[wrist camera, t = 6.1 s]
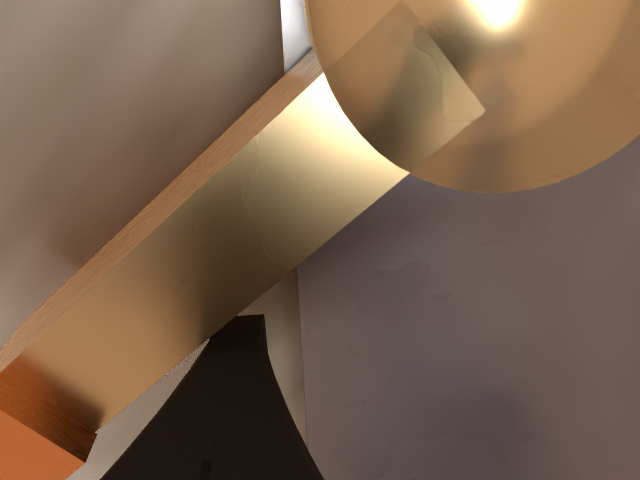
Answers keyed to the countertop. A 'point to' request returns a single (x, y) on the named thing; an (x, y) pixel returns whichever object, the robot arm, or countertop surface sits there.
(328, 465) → the grey metal plate
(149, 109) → the countertop surface
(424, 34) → the knob
